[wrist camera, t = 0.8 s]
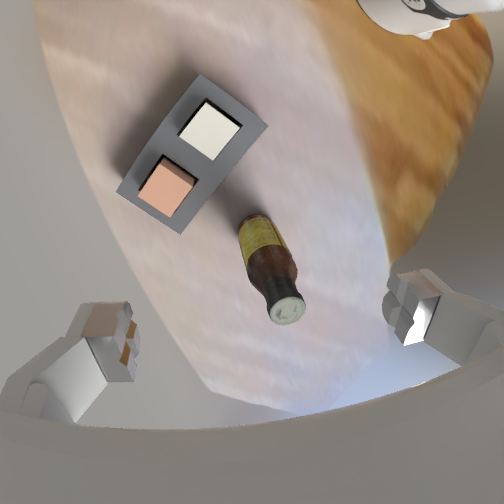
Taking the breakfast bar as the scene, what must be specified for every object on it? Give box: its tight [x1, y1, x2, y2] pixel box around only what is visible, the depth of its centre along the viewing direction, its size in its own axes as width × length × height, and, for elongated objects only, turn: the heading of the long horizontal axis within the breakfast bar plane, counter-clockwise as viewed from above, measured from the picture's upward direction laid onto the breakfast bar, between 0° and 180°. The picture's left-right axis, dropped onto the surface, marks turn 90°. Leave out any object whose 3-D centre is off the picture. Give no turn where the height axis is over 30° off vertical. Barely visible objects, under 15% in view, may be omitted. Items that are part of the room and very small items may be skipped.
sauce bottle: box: [238, 215, 306, 325], centre depth 40 cm, size 6×6×20 cm
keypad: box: [116, 74, 268, 235], centre depth 39 cm, size 19×11×5 cm, turn 140°
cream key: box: [179, 103, 239, 160], centre depth 34 cm, size 5×5×4 cm
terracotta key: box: [138, 157, 195, 217], centre depth 37 cm, size 5×5×4 cm
